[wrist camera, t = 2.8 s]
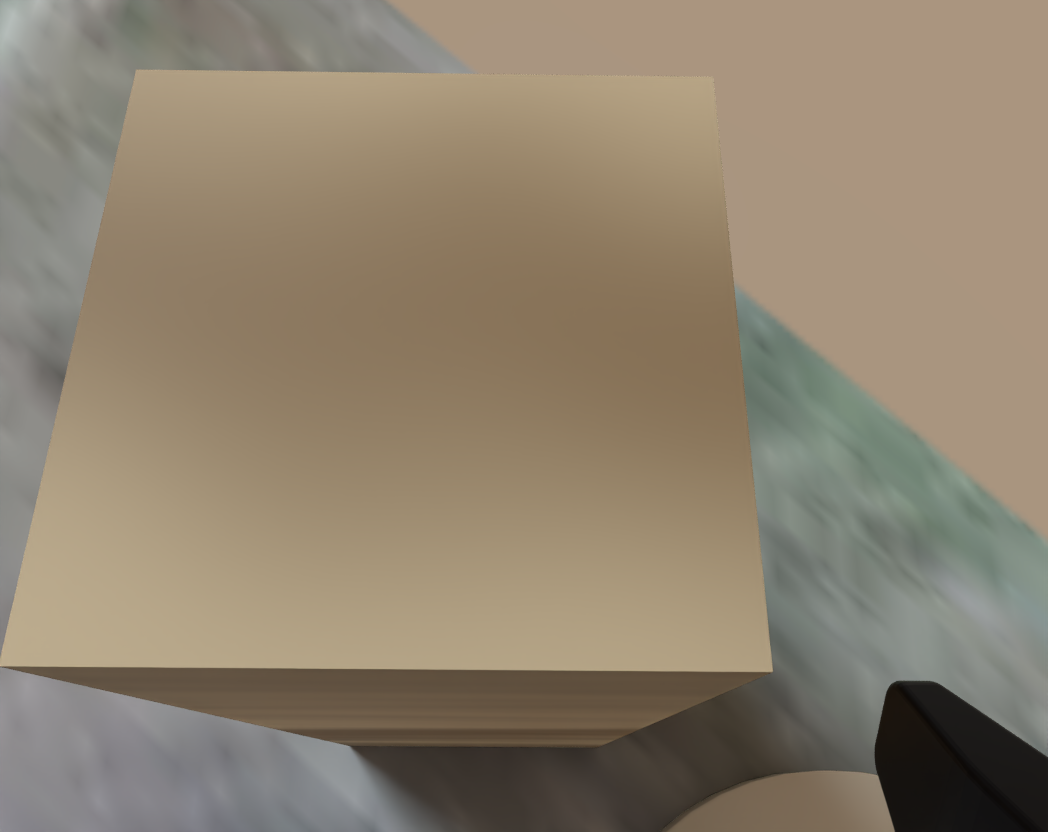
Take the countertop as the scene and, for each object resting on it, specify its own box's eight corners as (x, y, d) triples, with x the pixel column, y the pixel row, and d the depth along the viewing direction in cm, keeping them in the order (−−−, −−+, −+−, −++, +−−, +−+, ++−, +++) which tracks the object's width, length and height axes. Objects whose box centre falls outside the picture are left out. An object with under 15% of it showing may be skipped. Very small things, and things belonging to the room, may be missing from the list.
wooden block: (597, 747, 18) (772, 672, 6) (349, 745, 18) (-2, 666, 6) (591, 509, 20) (712, 76, 8) (367, 507, 20) (137, 69, 8)
